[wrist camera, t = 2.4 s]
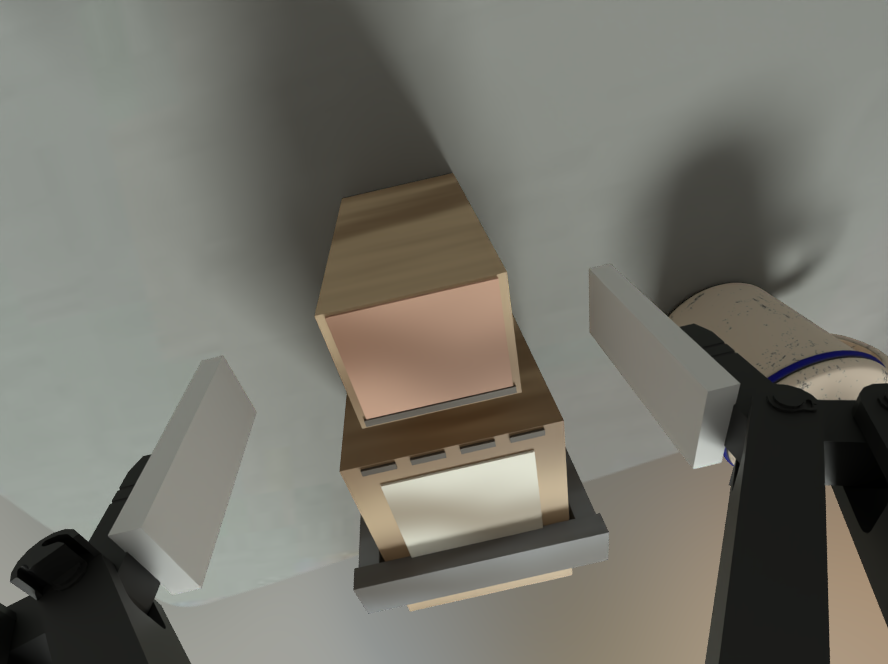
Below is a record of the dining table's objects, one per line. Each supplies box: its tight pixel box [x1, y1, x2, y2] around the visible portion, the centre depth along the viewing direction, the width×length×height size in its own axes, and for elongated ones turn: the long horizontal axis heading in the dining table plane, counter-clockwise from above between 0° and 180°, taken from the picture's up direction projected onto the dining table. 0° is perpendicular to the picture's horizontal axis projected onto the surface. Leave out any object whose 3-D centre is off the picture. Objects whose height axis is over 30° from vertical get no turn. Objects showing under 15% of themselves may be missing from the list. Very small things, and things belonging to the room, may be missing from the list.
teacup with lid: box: [669, 283, 888, 466], centre depth 27 cm, size 12×9×12 cm
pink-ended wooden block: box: [315, 173, 522, 429], centre depth 20 cm, size 5×6×12 cm
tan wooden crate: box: [340, 314, 609, 614], centre depth 25 cm, size 12×12×13 cm
